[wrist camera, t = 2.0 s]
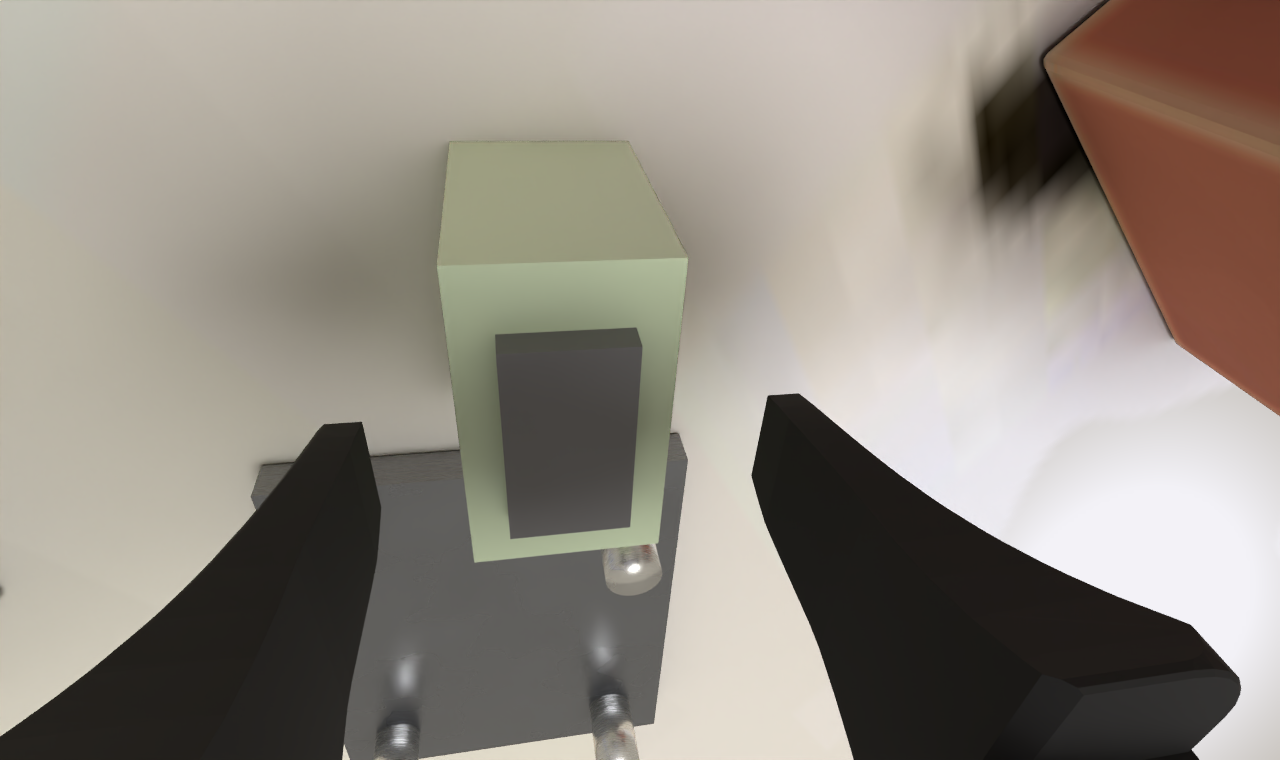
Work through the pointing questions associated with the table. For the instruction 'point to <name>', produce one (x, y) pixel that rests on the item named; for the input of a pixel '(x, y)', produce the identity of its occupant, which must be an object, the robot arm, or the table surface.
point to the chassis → (500, 627)
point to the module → (559, 343)
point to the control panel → (1190, 165)
